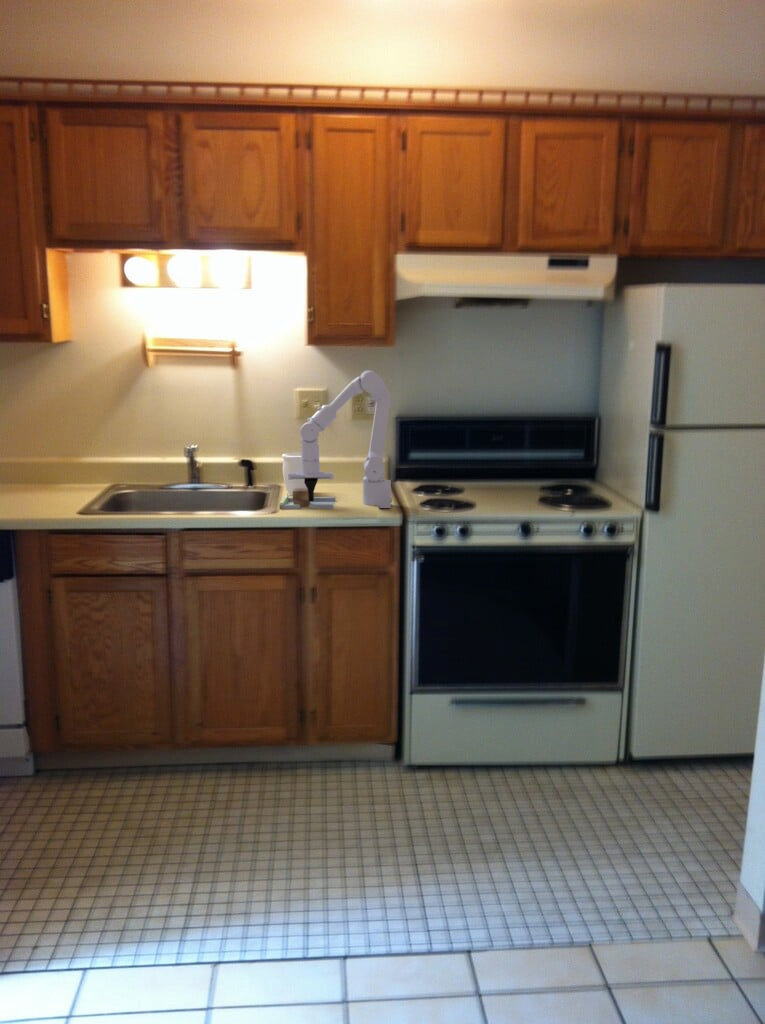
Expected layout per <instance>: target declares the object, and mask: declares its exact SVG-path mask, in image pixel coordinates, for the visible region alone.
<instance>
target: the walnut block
mask: <svg viewBox="0 0 765 1024" xmlns="http://www.w3.org/2000/svg"><path fill="white" fill-rule="evenodd" d="M292 497H293V505H300V506H309V505H310V494H309V491H308V489H307V488H294V490H293V495H292Z"/></svg>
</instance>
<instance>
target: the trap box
mask: <svg viewBox="0 0 765 1024" xmlns="http://www.w3.org/2000/svg"><path fill="white" fill-rule="evenodd" d="M335 504H336V497H335V496H334V497H333V496H332V497H331V496H328V497H327V496H325V497H324V496H323V497H322V496H321V497H320V496H317V497H316V496H314V501H313V502H310V505H309V506H300V505H293V496H292V497H289V495H288V494H284V495H283V497H282V498H281V500H280V501H279V510H300V509H301V508H308V507H309V510H313V509H314V510H316V509H318V510H332V509H333V510H334V507H335Z"/></svg>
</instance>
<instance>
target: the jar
mask: <svg viewBox="0 0 765 1024" xmlns="http://www.w3.org/2000/svg"><path fill="white" fill-rule="evenodd" d="M281 458H282V459H283V461H282V476H283V478H282V479H283V483H284V488H285V489H286V491H287V494H286V495H288V496H293V490H294V488H307V487H306V485H305V483H304V480H305V479H292V480H288V474H289V473H297V472H302V457H301V451H295V452H292V451H291V452H287V453H282V455H281Z"/></svg>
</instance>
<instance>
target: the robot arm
mask: <svg viewBox="0 0 765 1024" xmlns="http://www.w3.org/2000/svg"><path fill="white" fill-rule="evenodd" d="M363 390H364V391H365V392H367V393H368V394H370V395H371V397H372V398H373V399H374V401H375V408H374V412H373V413H374V414H373V421H372V427H371V435H370V441H369V449H368V453H367V458H366V459H365V461H364V462H363V466H362V468H363V471H364V477H363V478H362V503H363V505H364V506H377V509H378V508H390V509H391V508H392V507H391V506H392V502H393V497H392V487H391V485H392V483H391V479H386V478H385V477H384V474H385V468H384V465H383V462H384V449H385V443H386V436H387V429H388V423H389V416H390V409H391V402H392V397H391V393H390V392H389V390H388V388H387V386H386V384H385V381H384V380H383V379H382V378H381V376H379V375H378V374H377V373H376V372H375V371H374V370H372V369H369V370H368V369H367V370H364V371H363V372H361V373H360V376H357V377H355V378H354V379H353V380H352V381H350V382H349V383H348V385H347V386H345V388H344V389H342V391H341V392H340V393H339V394H338V395H337V396H336V397H335V399H334V400H332V402H330V404H323V405H322V406H321V405H320V406H318V407H317V408H316V409H317V411H315V413H314V414H313V415H312V416H311V417H308V418H307V420H306V421H307V422H305V423H303V424H302V426H301V428H300V436H301V441H300V443H301V447H300V448H301V451H300V452H301V457H302V472H297V473H289V474H288V480H292V479H305V480H304V483H305V485H306V487H307V489H308V491H309V494H310V502H313V501H314V497H315V494H314V492H315V488H316V486H317V483H318V481H319V480H334V472H330V471H329V472H327V471H326V472H325V471H321V469H320V446H319V439H318V438H319V436H320V432H324V430H326V429H327V427H329V426H330V425H331V423H333V422H334V421H335V419H337V412H338V411H339V410H340V409H341V408H342V407H343V406H344V405H345V404H346V403H347V402H348V401H350V399H352V398H353V397H354V396H356V395H359V394H363V393H364V391H363Z"/></svg>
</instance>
